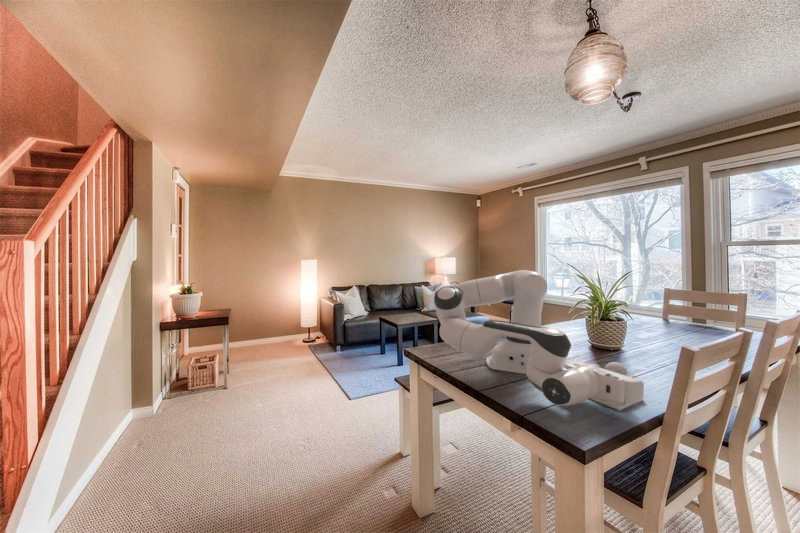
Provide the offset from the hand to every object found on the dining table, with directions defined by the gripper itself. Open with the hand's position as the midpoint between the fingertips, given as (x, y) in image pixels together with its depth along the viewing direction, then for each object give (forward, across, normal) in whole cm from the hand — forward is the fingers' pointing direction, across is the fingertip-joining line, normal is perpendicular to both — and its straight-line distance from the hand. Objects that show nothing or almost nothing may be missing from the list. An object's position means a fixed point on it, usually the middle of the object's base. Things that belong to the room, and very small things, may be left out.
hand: (614, 372), depth 94 cm
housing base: (0, 0, -8) cm, 8 cm away
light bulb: (+1, 0, -7) cm, 8 cm away
